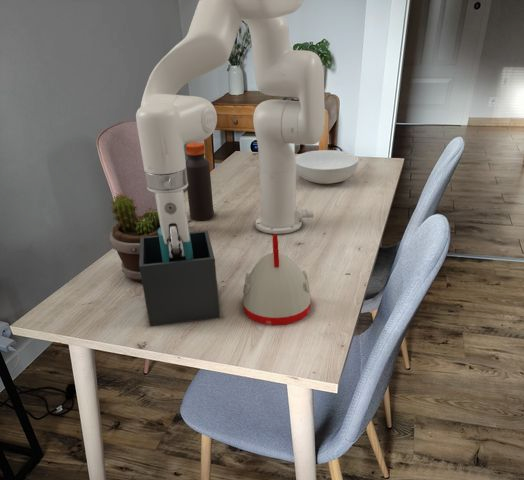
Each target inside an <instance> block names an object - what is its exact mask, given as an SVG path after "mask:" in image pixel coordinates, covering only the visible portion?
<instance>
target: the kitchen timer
mask: <svg viewBox="0 0 524 480" xmlns="http://www.w3.org/2000/svg"><path fill="white" fill-rule="evenodd" d="M311 299H312V298H311V288H310V283H309V279H308V274H307V271H306V270H303V271H302V269H301V267H300V266H299V265H298V263H297V262H296V261H295V260H293V259H292V258H291V257H290V256H288V255H287V254H285V253H282V252H280V251H279V238H278V234H272V252H270V253H268V254H266V255H264V256H263V257H262V258H261V259H259V260H258V262H256V263H255V265H254V266H253V268H252V269H251V271H250V272H246V274H245V277H244V284H243V295H242V309H243V312H244V314H245V316H246V317H248V318H249V319H250V320H252V321H254V322H255V323H256V322H257V323H258V324H259V323H260V324H263V325H268V326H269V325H270V326H284V325H289V324H293V323H296V322H299V321H301V320H302V319H304V318H306V317H307V316H308V315H309V314H310V311H311V305H312V304H311V303H312V302H311V301H312V300H311Z"/></svg>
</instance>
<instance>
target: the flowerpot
mask: <svg viewBox="0 0 524 480" xmlns="http://www.w3.org/2000/svg"><path fill="white" fill-rule="evenodd" d="M117 191H118V192H115V195H114V196H113V198H112V201H111V202H110V205H111V208H109V210H110V213H111V214H112V215H113V216H112V219H113V221H116V222H117V223H116V224H115V226H113V227H112V230H111V232H110V234H109V242H108V244H109V245H110V246H111V248H112V249H113V250H115V251H116V252H117V254H118V257H119V259H120V261H121V264H120V265H121V271H122V273H124V274H125V276H126V277H128V279H130V280H131V281H133V282H135V283H140V284H142V279H141V274H140V268H139V259H140V237H147V236H157V235H158V229H159V228H160V227H161V226H160V221H159V216H158V211H157V208H153V209H152V208H151V207H148V206H147V209H148V210H145V212H144V213H142V215H139V212H137V211H139V209H138V208H139V207H140V205H137V204H135V202H136V200H135V199H136V198H134V199H133V197H132V196H130V197H129V194H127V192H126V191H124V192H123V193H121V191H120V189H117Z"/></svg>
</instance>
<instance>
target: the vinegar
mask: <svg viewBox="0 0 524 480" xmlns="http://www.w3.org/2000/svg"><path fill="white" fill-rule="evenodd" d="M205 149H206V148H205V143H203V142H201V141H199V142H192V143H187V144H185V151H186V156H187V157H188V159H187V160H185V161H186V170H187V178H188V187H187V188H186V191H187V200H188V208H189V217H190V219H192V220H194V221H197V222H199V221H200V222H201V221H207V220H211V219H212V218H213V217H214V216H215V213H214V201H213V200H214V199H213V193H212V192H213V190H212V178H211V177H212V176H211V167H210V162H209V161H208V160H207V159H206V158H205V155H206V150H205Z"/></svg>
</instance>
